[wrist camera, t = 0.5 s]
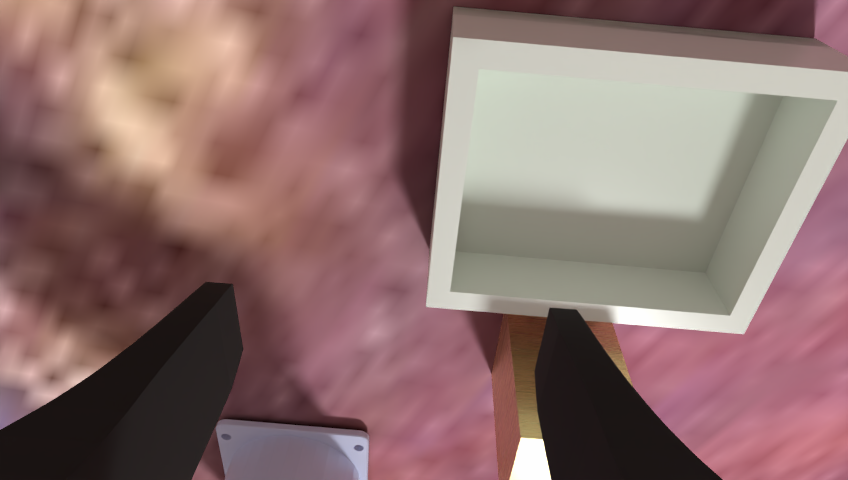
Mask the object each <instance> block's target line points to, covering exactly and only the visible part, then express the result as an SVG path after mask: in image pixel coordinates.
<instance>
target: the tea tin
mask: <svg viewBox="0 0 848 480" xmlns="http://www.w3.org/2000/svg"><path fill="white" fill-rule="evenodd" d="M546 320H547V317H538V316H527V315H515V314H503V319H502V324H501V329H500V334H499V339H498V344H497V349H496V354H495V359H494V364H493V369H492V388H493V403H494V418H495V432H496V447H497V461H498V476H499V480H551V478H550V473H549V468H548V463H547V458H546V453H545V448H544V443H543V438H542V433H541V428H540V423H539V418H538V412H537V401H536V388H535V373H534V370H535V366H536V362H537V358H538V354H539V350H540V345H541V341H542V337H543V333H544V329H545V325H546ZM585 322H586V323H587V325H588V326H589V328H590V329H591V331H592V332H593V334H594V335H595V336H596V338H597V339H598V341H599V342H600V344H601V345H602V347H603V348H604V349H605V351H606V352H607V354H608V355H609V356H610V358H611V359H612V360H613V362H614V363H615V365H616V366H617V367H618V368H619V370H620V371H621V372H622V374H623V375H624V376H625V378H626V379H627V380H628V381H629V383H630V384H631V385H632V382H631V379H630V376H629V373H628V370H627V367H626V364H625V361H624V358H623V355H622V352H621V349H620V345H619V342H618V339H617V336H616V333H615V330H614V327H613V324H612V323H608V322H597V321H585ZM632 387H633V385H632Z"/></svg>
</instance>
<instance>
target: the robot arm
mask: <svg viewBox="0 0 848 480" xmlns="http://www.w3.org/2000/svg"><path fill="white" fill-rule="evenodd" d="M242 351H243V345H242V339H241V333H240V326H239V320H238V314H237V307H236V301H235V295H234V288H233V284H226V283H213V282H206V283H204V284H203V285H202V286H201V287H200V288H198V289H197V290H196V291H195V292H194V293H192V294H191V295H190V296H189V297H188V298H187V299H185V300H184V301H183V302H182V303H181V304H180V305H178V306H177V307H176V308H175V309H174V310H173V311H172V312H170V313H169V314H168V315H167V316H166V317H165V318H163V319H162V320H161V321H160V322H159V323H157V324H156V325H155V326H154V327H153V328H151V329H150V330H149V331H148V332H147V333H145V334H144V335H143V336H142V337H141V338H139V339H138V340H137V341H136V342H134V343H133V344H132V345H131V346H129V347H128V348H127V349H125V350H124V351H123V352H121V353H120V354H119V355H117V356H116V357H115V358H114V359H112V360H111V361H110V362H108V363H107V364H106V365H104V366H103V367H102V368H100V369H99V370H98V371H96V372H95V373H93V374H92V375H90V376H89V377H88V378H86V379H85V380H83V381H82V382H80V383H79V384H77V385H76V386H74V387H72V388H71V389H69V390H68V391H66V392H65V393H63V394H62V395H60V396H58V397H57V398H55V399H54V400H52V401H50V402H49V403H47V404H46V405H44V406H42V407H40V408H39V409H37V410H35V411H33V412H31V413H30V414H28V415H26V416H24V417H23V418H21V419H19V420H17V421H15V422H14V423H12V424H10V425H8V426H7V427H5V428H3V429H1V430H0V480H191V479H192V477H193V475H194V472H195V470H196V468H197V466H198V464H199V461H200V459H201V457H202V455H203V452H204V450H205V448H206V446H207V443H208V441H209V439H210V437H211V434H212V432H213V430H214V428H215V426H216V423H217V421H218V419H219V417H220V414H221V412H222V410H223V407H224V405H225V403H226V401H227V398H228V396H229V394H230V391H231V389H232V385H233V382H234V379H235V376H236V373H237V369H238V366H239V362H240V359H241V355H242ZM534 373H535V388H536V401H537V412H538V418H539V423H540V428H541V433H542V438H543V443H544V448H545V453H546V458H547V463H548V468H549V473H550V478H551V480H722V479H721V478H720V477H719V476H718V475H717V474H716V473H714V472H713V471H712V470H711V469H710V468H709V467H708V466H707V465H705V464H704V463H703V462H702V461H701V460H700V459H699V458H698V457H697V456H696V455H695V454H694V453H693V452H692V451H690V450H689V449H688V448H687V447H686V446H685V444H684V443H683V442H682V441H681V440H680V439H679V438H678V437H677V436H676V435H675V434H674V433H673V432H672V431H671V430H670V429H669V428H668V427H667V426H666V425H665V424H664V423H663V422H662V421H661V420H660V419H659V417H658V416H657V415H656V414H655V413H654V412H653V411H652V409H651V408H650V407H649V406H648V405H647V404H646V402H645V401H644V400H643V399H642V398H641V396H640V395H639V394H638V393H637V392H636V390H635V389H634V388H633V387H632V385H631V384H630V383H629V381H628V380H627V379H626V378H625V376H624V375H623V374H622V372H621V371H620V370H619V368H618V367H617V366H616V365H615V363H614V362H613V360H612V359H611V358H610V356H609V355H608V354H607V352H606V351H605V349H604V348H603V347H602V345H601V344H600V342H599V341H598V339H597V338H596V336H595V335H594V334H593V332H592V331H591V329H590V328H589V326H588V325H587V323H586V322H585V320H584V319H583V317H582V316H581V314H580V313H579V312H578V311H577V310H576V309H563V308H549V312H548V316H547V320H546V325H545V329H544V333H543V337H542V341H541V345H540V350H539V354H538V358H537V362H536V366H535V370H534ZM216 433H217V438H218V443H219V448H220V453H221V458H222V463H223V468H224V473H225V480H368V459H369V435H368V434H367V433H366V432H364V431H361V430H350V429H338V428H326V427H314V426H302V425H290V424H278V423H266V422H255V421H243V420H231V419H222V420H220V421H219V422H218V423H217V426H216Z"/></svg>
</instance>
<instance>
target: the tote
mask: <svg viewBox="0 0 848 480" xmlns="http://www.w3.org/2000/svg"><path fill="white" fill-rule="evenodd" d="M847 139H848V56H846V55H844V54H842V53H840V52H839V51H837V50H835V49H833V48H831V47H830V46H828V45H826V44H824V43H822V42H820V41H819V40H817V39H814V38H803V37H792V36H781V35H769V34H758V33H747V32H735V31H724V30H713V29H702V28H690V27H679V26H668V25H657V24H645V23H634V22H623V21H612V20H600V19H589V18H578V17H567V16H555V15H544V14H533V13H522V12H510V11H499V10H488V9H477V8H465V7H454V6H453V16H452V26H451V36H450V46H449V56H448V66H447V77H446V87H445V97H444V107H443V117H442V128H441V138H440V148H439V158H438V168H437V178H436V189H435V199H434V209H433V219H432V229H431V239H430V250H429V265H428V281H427V297H426V307H433V308H445V309H457V310H468V311H480V312H492V313H503V314H515V315H527V316H538V317H547V316H548V312H549V308H563V309H576V310H577V311H578V312H579V313H580V314H581V316H582V317H583V319H584V320H585V321H597V322H608V323H620V324H632V325H643V326H655V327H667V328H678V329H690V330H702V331H713V332H725V333H737V334H744V333H745V331H746V329H747V327H748V325H749V323H750V322H751V320H752V318H753V316H754V314H755V312H756V310H757V308H758V306H759V305H760V303H761V301H762V299H763V297H764V295H765V293H766V291H767V290H768V288H769V286H770V284H771V282H772V280H773V278H774V276H775V274H776V273H777V271H778V269H779V267H780V265H781V263H782V261H783V259H784V257H785V256H786V254H787V252H788V250H789V248H790V246H791V244H792V242H793V240H794V239H795V237H796V235H797V233H798V231H799V229H800V227H801V225H802V224H803V222H804V220H805V218H806V216H807V214H808V212H809V210H810V208H811V207H812V205H813V203H814V201H815V199H816V197H817V195H818V193H819V191H820V190H821V188H822V186H823V184H824V182H825V180H826V178H827V176H828V175H829V173H830V171H831V169H832V167H833V165H834V163H835V161H836V159H837V158H838V156H839V154H840V152H841V150H842V148H843V146H844V144H845V142H846V141H847Z"/></svg>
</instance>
